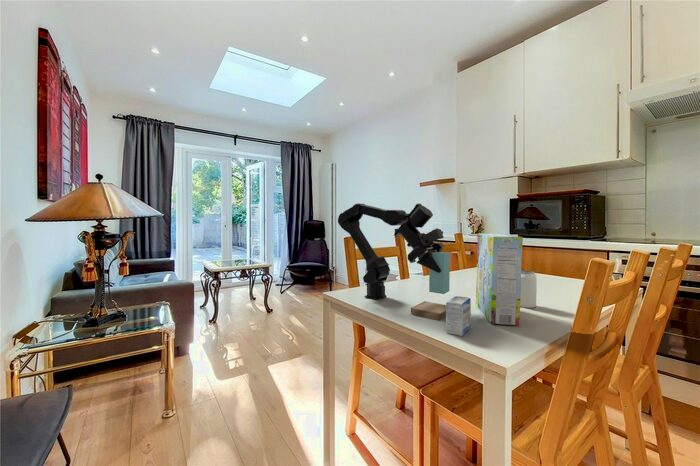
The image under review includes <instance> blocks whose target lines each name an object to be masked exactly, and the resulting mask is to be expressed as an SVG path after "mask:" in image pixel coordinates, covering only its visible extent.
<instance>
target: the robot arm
mask: <svg viewBox="0 0 700 466" xmlns="http://www.w3.org/2000/svg"><path fill="white" fill-rule="evenodd" d="M363 216H368V217H372V218H376V219H378V220H382V222H384V223H385V224H387V225H389V226H394V227H395V226H399V227H397V228H394V234H393V237H398V236H399V237H400V236H401V237H402V238H403V239H404V240H405V242H407V244H406V246H407V247H408V248H412V250H411V251H410V252H409V253H408V254H407V260H408V261H409V263H410V264H413V263H416V264H418V265H421V266H423V267H425V268H427V269H431V270H433V271H436V272H438V273H440V272H441V269H440V268H439V266H438V265H437V263H436V262H435V260H434V259H433V258H432V253H433V252H442V251H443V250H444V248H445V245H444V244H443V243H442V242H436V241H438V240H442V239H444V238H445V237H444V231H443V230H441V228H437V227H436V228H435V229H432V230H431V231H429V232H427V233H424V232H423V233H422V232H421V231H420V230H419V229H418V228H420V229H421V228H423V227H424V226H425V225H426V224H427V223H428V222H429V221H430V219H432V218H433V216H434V214H433V212H432V210H430V209H429V208H427V207H426V206H424V205H422V204H421V203H416V204H415V205H414V207H413V209H412V210H411V211H410V212H409V213H407V212H406V210H402V209H385V208H381V207H376V206H372V205H367V204H365V203H355V204H353V205H352V206H351V207H349V208H348V209H345V210H344V211H343V212H340V214H339V215H338V218H337V223H338V225H339V226H340V228H342V230H344V232H346V233H348V234H349V235H350V237H351V238H352V240H353V242H354V244H355V246H356V247H357V249H358V251H359V253H360V254H361V255H362V257H363V259H364V261H365V266H366V267H365V269H366V273H365V274H364V275H363V277H362V280H363V282H364V284H366V295H364V298H366V299H373V300H376V301H377V300H381V299H382V298H383V299H384V298H386V297H387V294H386V286H385V282H386V281H387V278H388V276H389V275H390V272H391V268H390V264H389V262H387V260H386V258H385V256H378V255H377V254H376V252H375V250H374V248H373V247H372V246H371V244H370V242H369V241H368V239H367V237H366V236H365V234H364V232H363V231H362V229H361V228H360V224H361V223H360V222H361V221H360V220H361V219H362V217H363ZM417 259H418V260H417ZM416 260H417V261H416Z"/></svg>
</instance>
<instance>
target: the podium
mask: <svg viewBox="0 0 700 466" xmlns="http://www.w3.org/2000/svg"><path fill="white" fill-rule="evenodd" d="M410 314H411V315H413V316H414V315H415V316H419V317H421V318H422V317H424V318H427V319H432V320H437V321H441V320H443V319H444V318H445V319H446V304H444V303H443V304H442V303H437V302H432V301H426V300H424V301H422V302H420V303H418V304H416V305H414V306H412V307H410Z"/></svg>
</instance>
